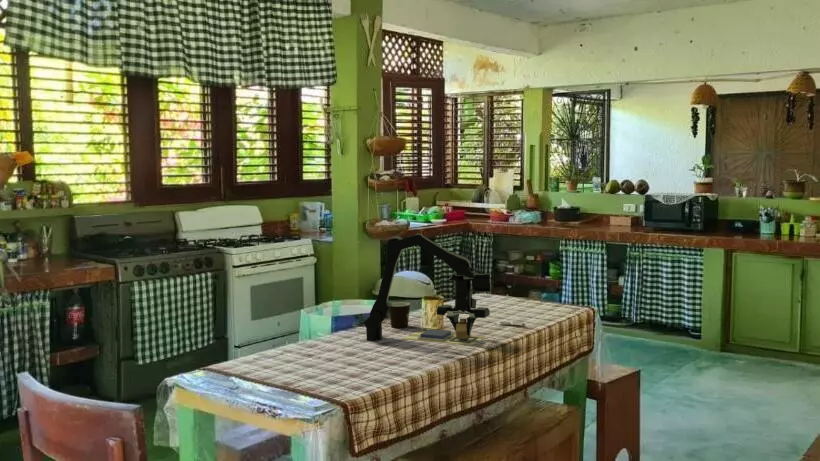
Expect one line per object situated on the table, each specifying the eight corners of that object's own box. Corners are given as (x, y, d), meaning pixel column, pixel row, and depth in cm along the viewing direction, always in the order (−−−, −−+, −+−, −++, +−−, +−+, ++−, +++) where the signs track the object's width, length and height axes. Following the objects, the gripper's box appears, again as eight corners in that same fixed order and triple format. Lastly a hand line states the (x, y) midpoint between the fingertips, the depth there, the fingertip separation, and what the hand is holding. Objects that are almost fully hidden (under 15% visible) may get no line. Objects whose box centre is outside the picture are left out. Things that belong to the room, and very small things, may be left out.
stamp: (466, 339, 274) (466, 320, 274) (456, 338, 276) (455, 320, 275) (470, 337, 278) (470, 318, 277) (460, 336, 280) (460, 317, 279)
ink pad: (443, 341, 275) (442, 336, 275) (418, 339, 279) (417, 334, 279) (453, 335, 284) (453, 330, 284) (429, 333, 288) (429, 328, 288)
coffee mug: (401, 332, 295) (400, 307, 294) (384, 330, 300) (383, 305, 299) (419, 326, 304) (418, 302, 303) (402, 324, 309) (401, 300, 308)
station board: (472, 348, 268) (472, 344, 268) (401, 341, 280) (400, 338, 280) (485, 339, 281) (485, 335, 280) (417, 333, 293) (417, 330, 293)
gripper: (494, 289, 278) (495, 331, 280) (447, 287, 286) (448, 328, 288) (483, 295, 268) (484, 338, 270) (435, 292, 276) (436, 334, 278)
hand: (463, 334), depth 277 cm, fingers closed on stamp, 4 cm apart
